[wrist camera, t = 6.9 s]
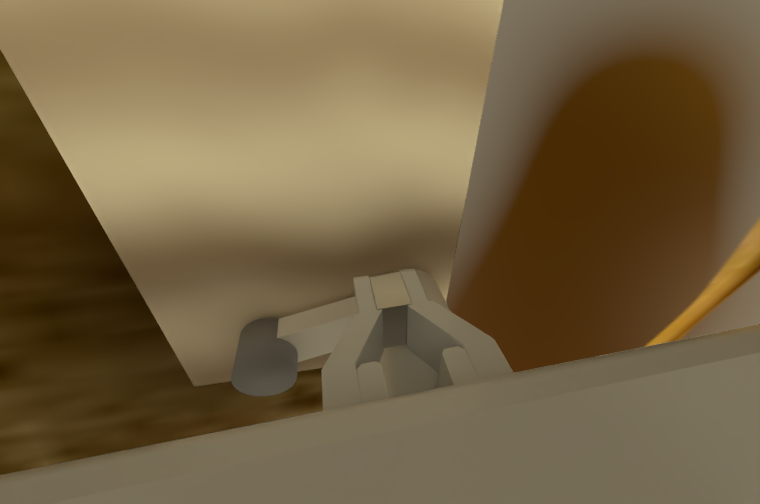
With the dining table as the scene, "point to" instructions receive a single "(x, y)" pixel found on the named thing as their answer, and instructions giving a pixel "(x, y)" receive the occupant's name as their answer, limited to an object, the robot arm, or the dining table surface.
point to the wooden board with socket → (260, 145)
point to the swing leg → (321, 349)
